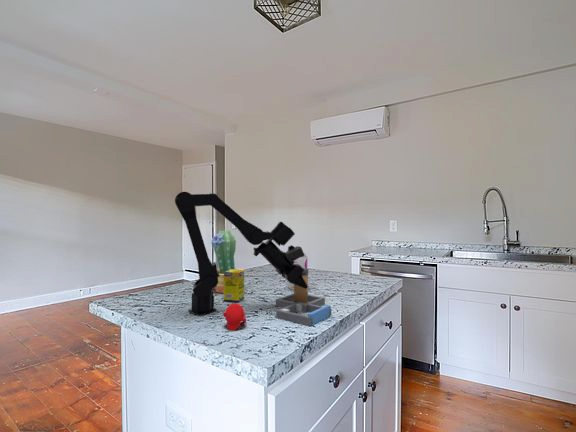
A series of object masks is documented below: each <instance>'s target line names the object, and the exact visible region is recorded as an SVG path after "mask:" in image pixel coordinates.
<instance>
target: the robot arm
mask: <svg viewBox="0 0 576 432" xmlns="http://www.w3.org/2000/svg"><path fill="white" fill-rule="evenodd" d="M174 203H175V206H176V208H177V210H178V211H179V213H180V215H181V217H182V219H183V220H184V222H185V225H186V228H187V233H188V236H189V238H190V241H191V245H192V248H193V251H194V255H195V258H196V261H197V268H198V279H197V280H196V281H195V282H194V283H193V286H192V292H193V293H191V309H188V313H191V314H194V315H198V316H204V315H207V314H209V313H213V312H217V309H216V308H215V296H214V290H213V289H216V288H215V287H216V286H217V284H218V277H220V275H219V272H218V271H217V269H218V268H217V263H216V261H213V262H212V261H211V260H210V258H209V255H208V251H207V247H206V245H205V242H204V238H203V235H202V232H201V228H200V225H199V222H198V218H197V217H198V216H197V208H196V207H204V206H206V207H207V206H210V207H212V208H213V210H215V211H216V212H217V213H219V214H220V215H221V216H222V217H224V218H225V219H226V220H227V221H228V222H230V224H232V225H233V226H234V227H235V228H236V229H237V230H238V231H239V233H240V234H241V235H242V236H243V237H244V239H245V240H246V241H247V242H248V243H249V244H251V245H252V246H257V245H258V246H257V247H253V255H254V257H257V256H259V255H262V257H263V258H264V259H265V260H266V261H267V262H268V263H269V264H270V265H271V266H272V267H273V268H275V270H274V271H275V272H276V273H277V274H279V275H280V276H281V277H282V278H284V279H285V280H286V281H287V282H290V283H293V284H295V285H298V286H300V287H303V288H305V289H306V288H307V287H308V288H309V285H308V286H307V284H306V282H305V281H304V279H303V277H302V275H301V273H302V272H303V271H304V269H303V268H302V267H301V266H300V265H298V264H294V263H295V262H294V260H296V259H298V258H300V257H303V256H304V253H305V252H304V251H303V248H302V247H301V246H297V245H296V246H293V245H291V244H290V245H289V246H287V250H286V251H283V250H281V249H280V248H279V247H280V246H283V247H284V246H285V245H286V244H287V243H288V242H289V241H291V239H292V238H293V237H294V236H295V234H296V233H295V232H294V231H293V230H292V228H291V227H289V226H287V224H286V223H284V222H283V221H279V222H277V225H276V226H274V228H273V229H271V231H264V230H262V229H261V228H259V227H258V226H256V225H254V224H253V223H251V222H249V221H248V220H245V219H244V218H243V217H242V216H241V215H240V214H238V212H236V210H233V208H231V206H230V205H228V204H227V203H226V202H225V201H223V200H222V199H221V198H220V197H219V195H218V194H216V193H202V194H201V193H199V194H198V193H196V194H191V193H190V192H189V191H181V192H179V193H178V194H177V195H176V196H175V198H174ZM264 241H265V242H264Z"/></svg>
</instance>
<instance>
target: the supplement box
mask: <svg viewBox="0 0 576 432" xmlns="http://www.w3.org/2000/svg"><path fill="white" fill-rule="evenodd" d="M244 299H245V269H242V270H233V269H230V270H228V271H226V272H224V293H223V303H224V302H227V303H237V304H239V303H240V302H242V300H244Z"/></svg>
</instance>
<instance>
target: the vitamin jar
mask: <svg viewBox="0 0 576 432" xmlns="http://www.w3.org/2000/svg"><path fill="white" fill-rule="evenodd" d="M303 269H304V271H303V272H302V273H301V275H302V277H303V279H304V281H305V282H306V284H307V286H308V287H307V288H306V289H305V288H303V287H300V286H298V285H295V284H294V290H293V294H294V301H293V302H302V303H309V302H308V295H309V268H308V267H307V268H303Z"/></svg>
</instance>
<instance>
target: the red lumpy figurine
mask: <svg viewBox="0 0 576 432" xmlns="http://www.w3.org/2000/svg"><path fill="white" fill-rule="evenodd" d="M223 317H224V318H225V321H226V328H227V329H228V331H231V332H232V331H233V332H235V331H236V330H237V329H238V328H239V327H240V325H241V326H245V325H246V323H247V317H246V313H245V309H244V308H243V306H242V305H241V304H239V303H237V302H233V303H231V304H230V305H228V306H227V308H226V310H225V311H224V313H223Z"/></svg>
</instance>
